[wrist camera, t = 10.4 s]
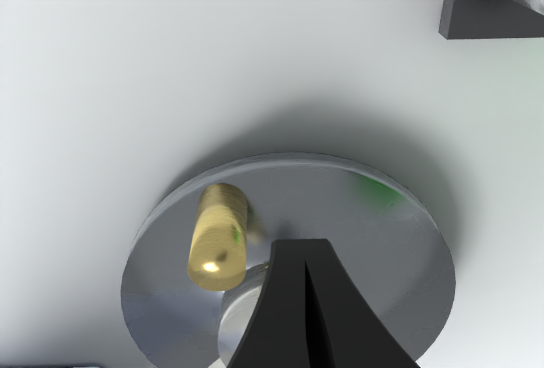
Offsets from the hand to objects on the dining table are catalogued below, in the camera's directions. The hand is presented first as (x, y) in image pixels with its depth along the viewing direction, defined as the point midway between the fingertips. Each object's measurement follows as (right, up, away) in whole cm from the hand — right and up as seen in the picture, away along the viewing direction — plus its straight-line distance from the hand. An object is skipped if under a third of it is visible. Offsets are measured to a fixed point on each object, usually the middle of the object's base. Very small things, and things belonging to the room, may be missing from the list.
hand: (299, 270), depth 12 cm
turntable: (0, -3, +13) cm, 13 cm away
